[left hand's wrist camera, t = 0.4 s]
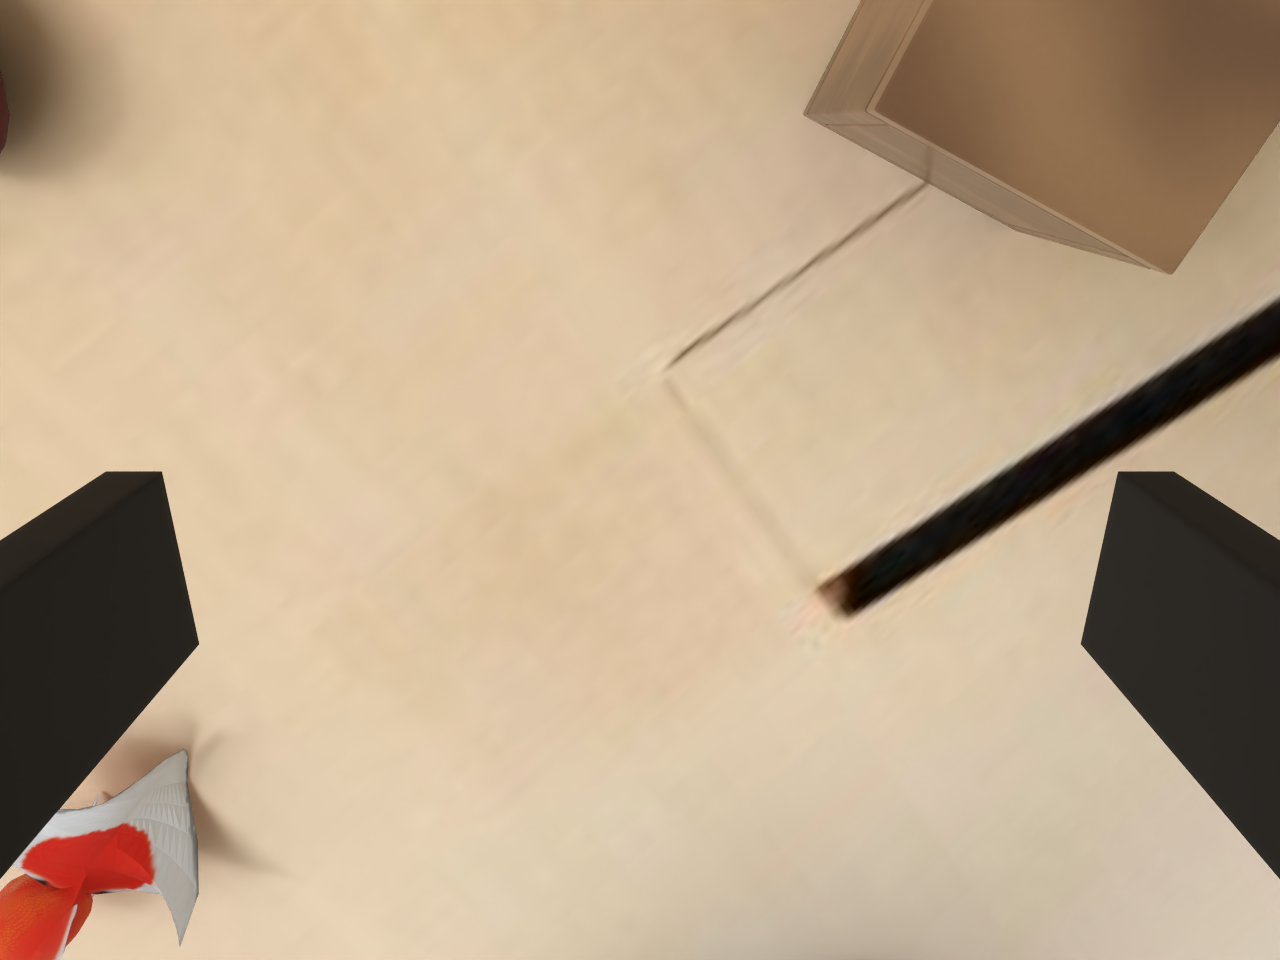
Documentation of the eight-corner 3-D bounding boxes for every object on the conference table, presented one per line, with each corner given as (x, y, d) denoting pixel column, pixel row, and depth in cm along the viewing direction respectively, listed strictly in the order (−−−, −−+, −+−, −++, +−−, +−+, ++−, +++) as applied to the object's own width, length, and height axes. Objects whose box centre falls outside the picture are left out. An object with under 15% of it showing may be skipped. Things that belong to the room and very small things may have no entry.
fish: (-161, 859, 44) (-200, 1034, 36) (121, 652, 47) (139, 773, 39) (16, 939, 50) (15, 1101, 43) (252, 753, 54) (289, 873, 46)
